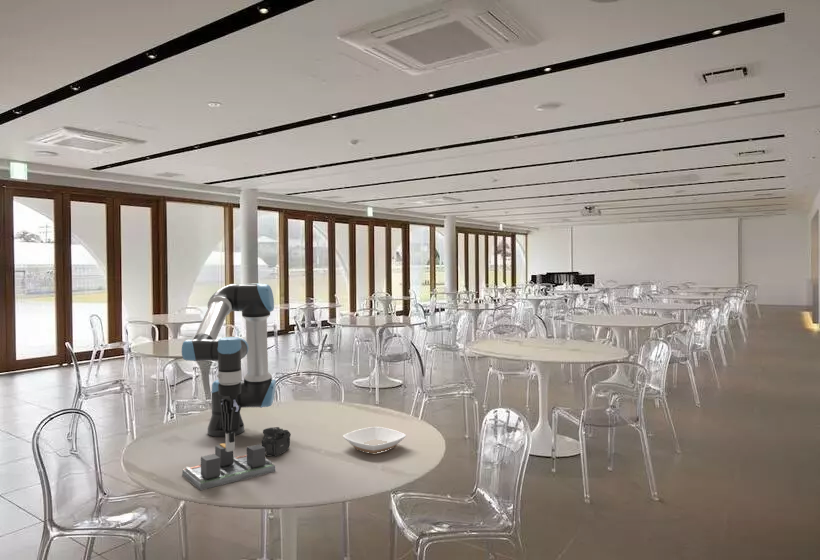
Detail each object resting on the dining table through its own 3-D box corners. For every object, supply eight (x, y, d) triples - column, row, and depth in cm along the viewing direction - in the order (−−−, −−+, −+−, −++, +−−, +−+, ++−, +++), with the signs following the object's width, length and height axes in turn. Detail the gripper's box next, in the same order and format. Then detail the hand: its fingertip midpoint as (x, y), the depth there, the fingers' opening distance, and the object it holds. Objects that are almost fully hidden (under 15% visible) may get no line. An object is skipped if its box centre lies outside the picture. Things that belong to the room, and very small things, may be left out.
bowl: (335, 448, 218) (335, 435, 218) (375, 436, 234) (375, 424, 234) (373, 461, 204) (373, 447, 203) (413, 448, 219) (413, 435, 219)
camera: (266, 447, 220) (266, 422, 220) (291, 446, 221) (291, 421, 221) (258, 458, 207) (258, 431, 207) (285, 458, 207) (285, 431, 207)
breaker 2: (215, 462, 195) (215, 444, 195) (227, 459, 198) (227, 442, 198) (220, 466, 192) (220, 448, 191) (233, 463, 194) (233, 445, 194)
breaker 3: (246, 463, 194) (246, 446, 194) (258, 461, 197) (258, 444, 197) (253, 467, 190) (253, 450, 190) (265, 464, 193) (265, 447, 193)
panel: (182, 475, 190) (182, 466, 190) (254, 458, 206) (254, 450, 206) (200, 490, 177) (200, 480, 177) (275, 471, 193) (275, 462, 193)
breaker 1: (200, 474, 184) (200, 456, 184) (214, 471, 187) (214, 453, 187) (206, 479, 180) (206, 460, 180) (220, 475, 183) (220, 457, 183)
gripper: (211, 381, 193) (212, 448, 194) (226, 387, 183) (227, 458, 184) (232, 378, 198) (233, 443, 199) (248, 384, 188) (248, 453, 189)
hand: (230, 450), depth 191 cm, fingers closed
